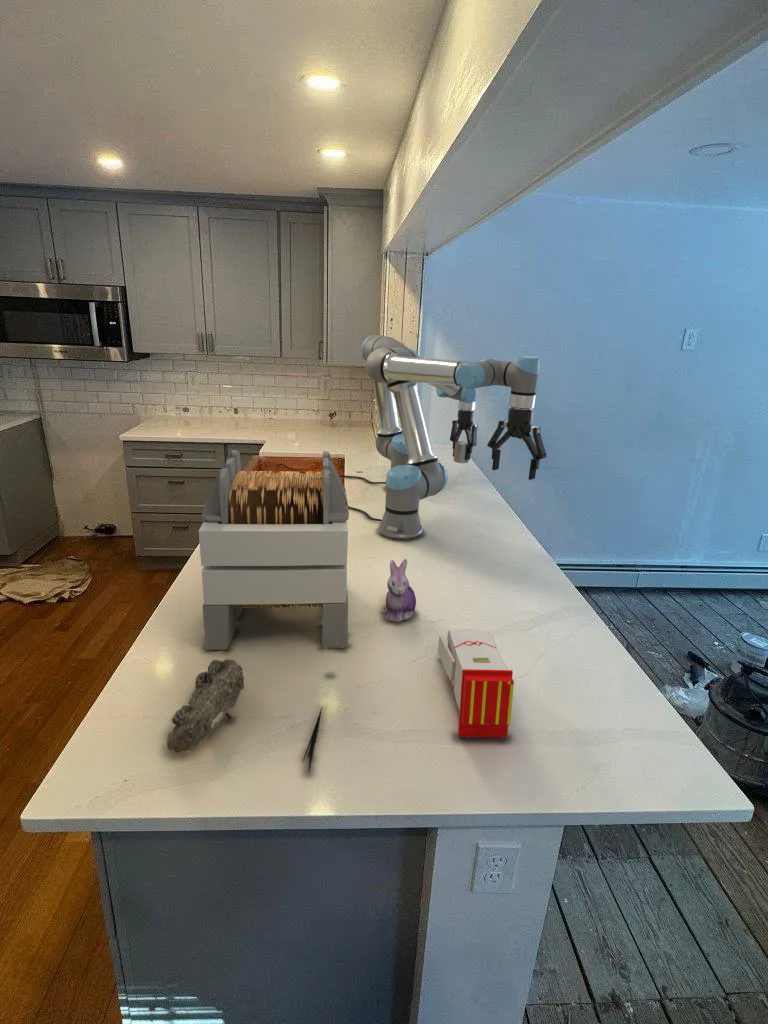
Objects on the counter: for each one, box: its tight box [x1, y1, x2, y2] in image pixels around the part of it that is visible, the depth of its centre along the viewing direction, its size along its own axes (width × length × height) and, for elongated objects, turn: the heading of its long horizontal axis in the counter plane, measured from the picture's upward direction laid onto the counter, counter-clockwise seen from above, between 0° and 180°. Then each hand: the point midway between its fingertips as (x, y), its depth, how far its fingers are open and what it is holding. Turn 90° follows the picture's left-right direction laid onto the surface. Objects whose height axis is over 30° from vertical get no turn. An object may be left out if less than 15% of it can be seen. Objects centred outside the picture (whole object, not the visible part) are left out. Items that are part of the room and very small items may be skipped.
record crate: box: [198, 449, 350, 651], centre depth 138 cm, size 34×33×41 cm
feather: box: [301, 673, 332, 771], centre depth 108 cm, size 2×28×2 cm
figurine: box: [384, 558, 417, 623], centre depth 145 cm, size 9×10×15 cm
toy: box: [437, 628, 515, 738], centre depth 117 cm, size 12×13×30 cm
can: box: [453, 440, 469, 464], centre depth 270 cm, size 7×7×9 cm
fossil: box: [166, 658, 245, 754], centre depth 106 cm, size 22×10×15 cm
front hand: (513, 474), depth 182 cm, fingers open, 13 cm apart
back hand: (461, 457), depth 271 cm, fingers closed on can, 7 cm apart
